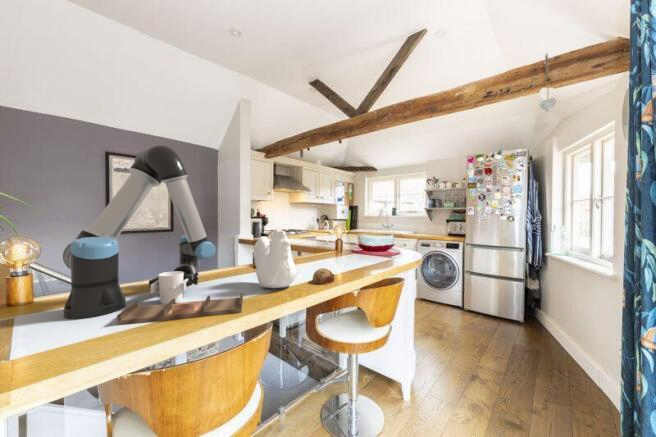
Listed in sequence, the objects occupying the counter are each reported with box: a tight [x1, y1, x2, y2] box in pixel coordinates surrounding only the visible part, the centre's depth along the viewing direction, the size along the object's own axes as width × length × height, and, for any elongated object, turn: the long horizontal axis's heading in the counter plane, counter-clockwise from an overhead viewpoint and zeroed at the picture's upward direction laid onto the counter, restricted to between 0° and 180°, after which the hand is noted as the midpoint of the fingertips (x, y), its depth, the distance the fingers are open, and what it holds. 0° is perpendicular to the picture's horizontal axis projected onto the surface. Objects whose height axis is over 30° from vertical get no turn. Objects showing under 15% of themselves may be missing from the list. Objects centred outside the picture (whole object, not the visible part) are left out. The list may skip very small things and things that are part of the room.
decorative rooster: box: [252, 228, 298, 289], centre depth 117 cm, size 25×16×25 cm, turn 35°
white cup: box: [157, 270, 184, 304], centre depth 95 cm, size 8×8×10 cm
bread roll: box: [311, 267, 335, 285], centre depth 122 cm, size 10×10×8 cm
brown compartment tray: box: [116, 292, 244, 326], centre depth 85 cm, size 33×12×4 cm, turn 106°
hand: (167, 287), depth 90 cm, fingers open, 9 cm apart
